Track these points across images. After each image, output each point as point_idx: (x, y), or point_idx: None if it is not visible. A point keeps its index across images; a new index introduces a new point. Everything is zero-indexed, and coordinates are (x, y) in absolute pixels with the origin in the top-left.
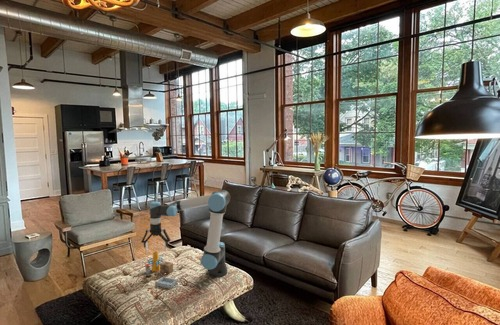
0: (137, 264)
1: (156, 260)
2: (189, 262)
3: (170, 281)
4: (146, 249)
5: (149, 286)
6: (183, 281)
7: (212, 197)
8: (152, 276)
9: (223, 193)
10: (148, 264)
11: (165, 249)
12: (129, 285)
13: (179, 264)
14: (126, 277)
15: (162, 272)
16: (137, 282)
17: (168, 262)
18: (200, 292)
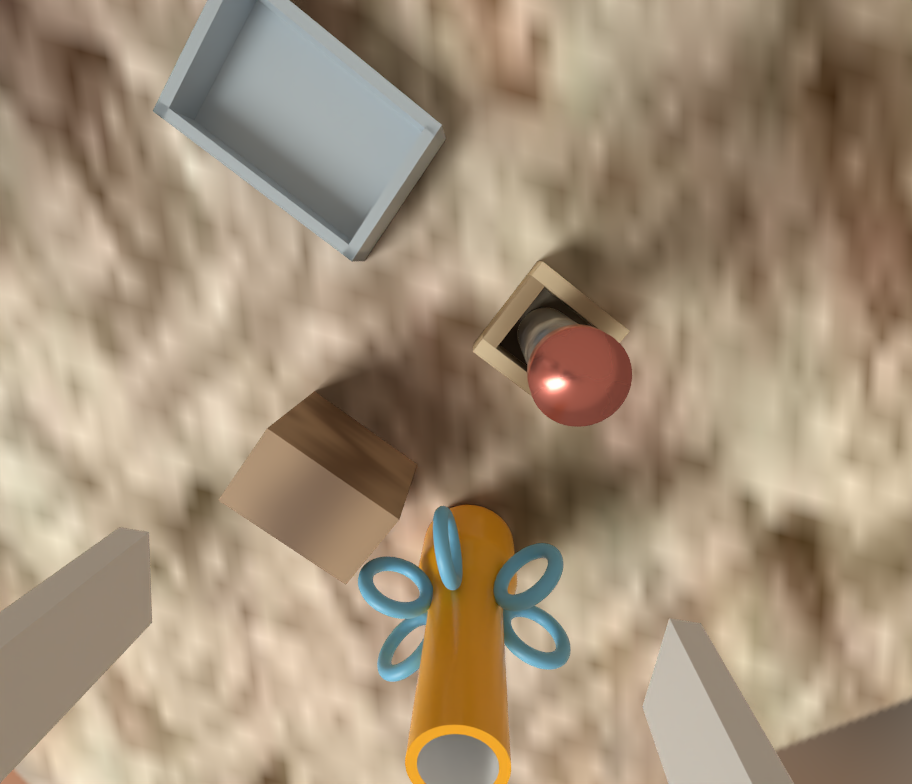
0: None
1: (449, 604)
2: None
3: (271, 179)
4: (711, 694)
5: (526, 141)
6: (121, 163)
7: None
8: (497, 319)
9: None
10: (570, 391)
11: (77, 568)
12: (769, 240)
13: (224, 599)
14: (797, 459)
15: (389, 450)
16: (673, 294)
17: (283, 535)
18: None
